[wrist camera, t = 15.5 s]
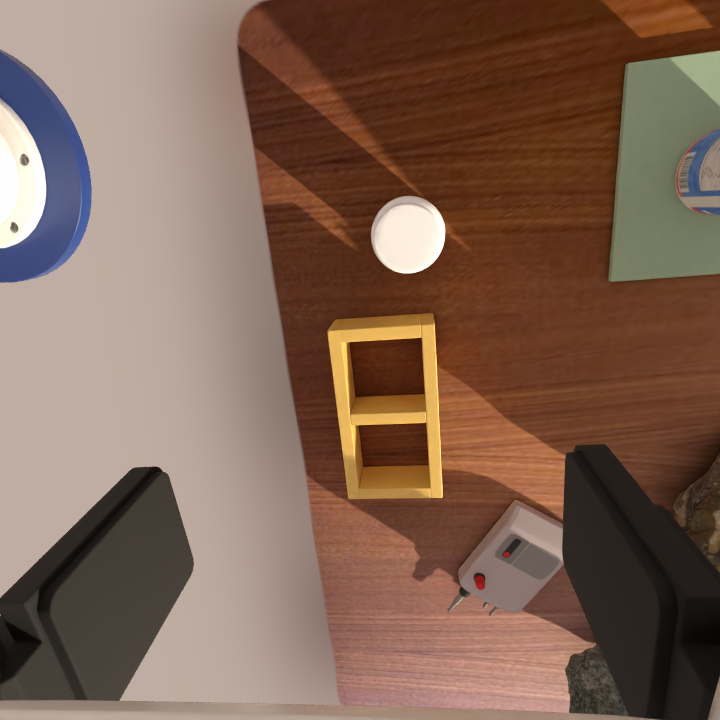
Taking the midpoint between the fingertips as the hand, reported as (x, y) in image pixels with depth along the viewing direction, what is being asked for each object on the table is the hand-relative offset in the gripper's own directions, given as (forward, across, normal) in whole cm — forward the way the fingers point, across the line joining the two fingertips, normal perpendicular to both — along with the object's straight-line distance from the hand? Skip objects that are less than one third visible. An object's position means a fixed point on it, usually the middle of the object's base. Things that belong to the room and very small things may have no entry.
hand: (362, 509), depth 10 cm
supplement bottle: (+27, -2, -4) cm, 28 cm away
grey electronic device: (+27, -9, +27) cm, 39 cm away
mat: (+26, -22, -6) cm, 35 cm away
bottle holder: (+27, +1, +10) cm, 29 cm away
